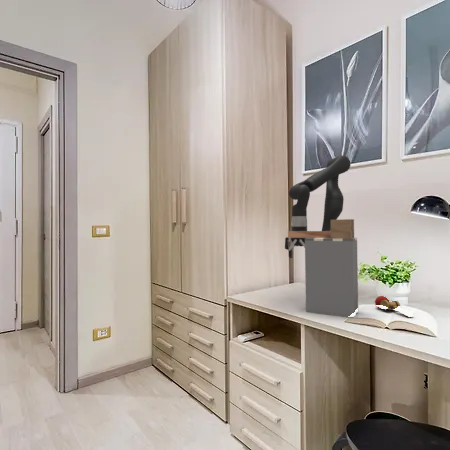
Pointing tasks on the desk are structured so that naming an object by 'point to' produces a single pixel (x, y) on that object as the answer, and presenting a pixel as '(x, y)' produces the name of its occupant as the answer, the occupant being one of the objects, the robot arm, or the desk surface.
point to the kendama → (386, 302)
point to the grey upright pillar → (331, 276)
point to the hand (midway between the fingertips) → (299, 258)
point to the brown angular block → (338, 231)
